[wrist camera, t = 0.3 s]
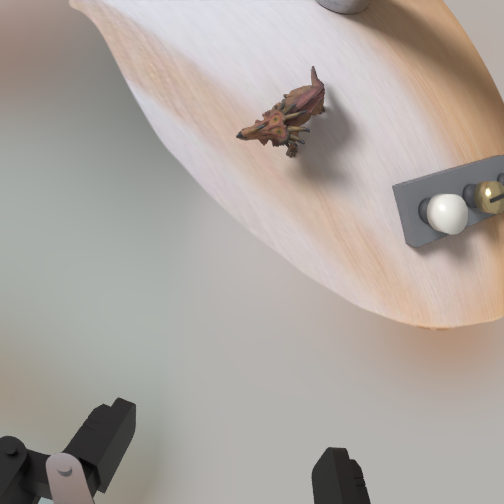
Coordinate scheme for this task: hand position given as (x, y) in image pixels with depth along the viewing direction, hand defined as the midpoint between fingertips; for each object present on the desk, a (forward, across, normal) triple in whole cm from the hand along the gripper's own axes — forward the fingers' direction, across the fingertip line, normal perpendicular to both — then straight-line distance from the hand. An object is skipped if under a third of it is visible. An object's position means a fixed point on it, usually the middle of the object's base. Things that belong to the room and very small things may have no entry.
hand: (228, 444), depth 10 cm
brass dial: (+22, -26, -18) cm, 38 cm away
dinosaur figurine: (+28, 0, -19) cm, 34 cm away
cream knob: (+22, -19, -13) cm, 32 cm away
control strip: (+28, -26, -18) cm, 42 cm away
